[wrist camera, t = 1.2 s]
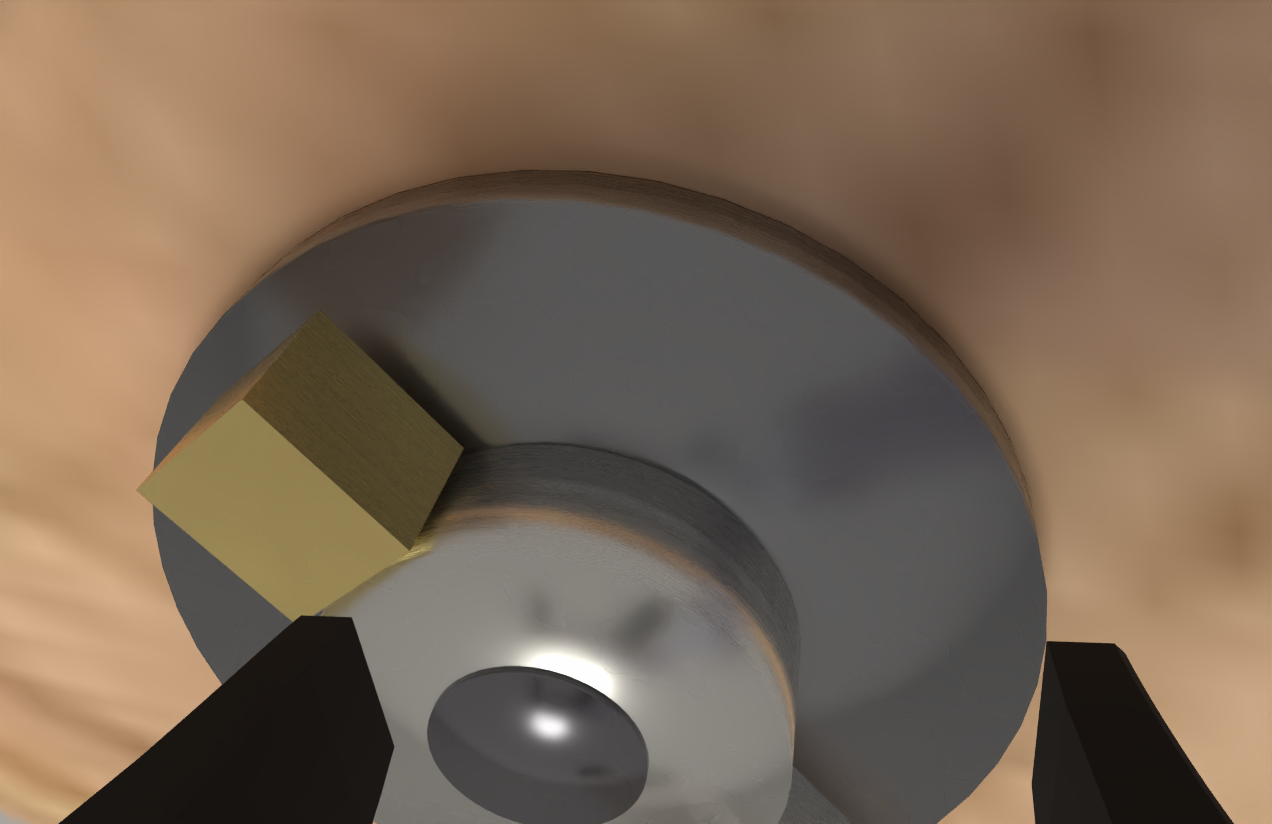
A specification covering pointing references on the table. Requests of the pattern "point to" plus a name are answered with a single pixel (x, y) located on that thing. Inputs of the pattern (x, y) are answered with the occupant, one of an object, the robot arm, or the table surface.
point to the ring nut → (506, 602)
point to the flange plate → (694, 438)
